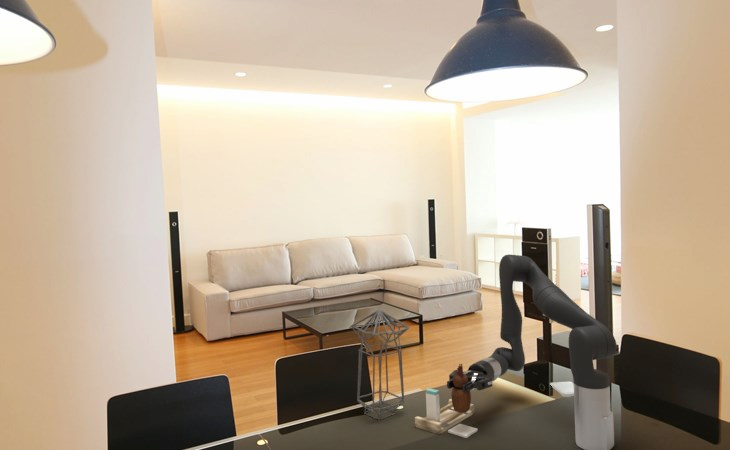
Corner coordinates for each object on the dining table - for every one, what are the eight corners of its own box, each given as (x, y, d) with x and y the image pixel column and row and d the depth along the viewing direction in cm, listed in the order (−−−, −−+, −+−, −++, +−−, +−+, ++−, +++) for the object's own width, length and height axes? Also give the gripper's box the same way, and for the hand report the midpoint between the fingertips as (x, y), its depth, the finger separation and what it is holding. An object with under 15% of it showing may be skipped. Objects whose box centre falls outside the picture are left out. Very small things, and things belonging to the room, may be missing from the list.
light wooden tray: (474, 413, 170) (473, 404, 170) (439, 434, 155) (438, 424, 155) (450, 407, 176) (450, 398, 176) (415, 427, 161) (414, 417, 161)
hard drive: (549, 382, 193) (563, 393, 181) (571, 381, 193) (586, 392, 181) (550, 386, 193) (564, 398, 181) (571, 385, 193) (587, 397, 181)
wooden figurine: (471, 415, 153) (469, 365, 152) (451, 414, 154) (449, 365, 153) (471, 406, 159) (469, 358, 159) (452, 405, 160) (450, 358, 160)
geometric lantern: (384, 401, 184) (382, 304, 183) (413, 415, 171) (412, 311, 170) (348, 412, 175) (346, 310, 174) (376, 428, 162) (374, 317, 161)
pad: (477, 430, 156) (477, 428, 156) (466, 438, 152) (466, 436, 152) (459, 425, 161) (459, 423, 161) (448, 432, 156) (447, 430, 156)
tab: (440, 422, 160) (438, 390, 160) (436, 424, 159) (435, 392, 158) (430, 419, 163) (429, 388, 162) (427, 421, 161) (425, 390, 161)
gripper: (465, 356, 171) (435, 370, 159) (504, 364, 162) (476, 379, 149) (466, 378, 172) (436, 394, 159) (505, 387, 162) (477, 405, 149)
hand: (455, 387), depth 154 cm, fingers closed on wooden figurine, 4 cm apart
